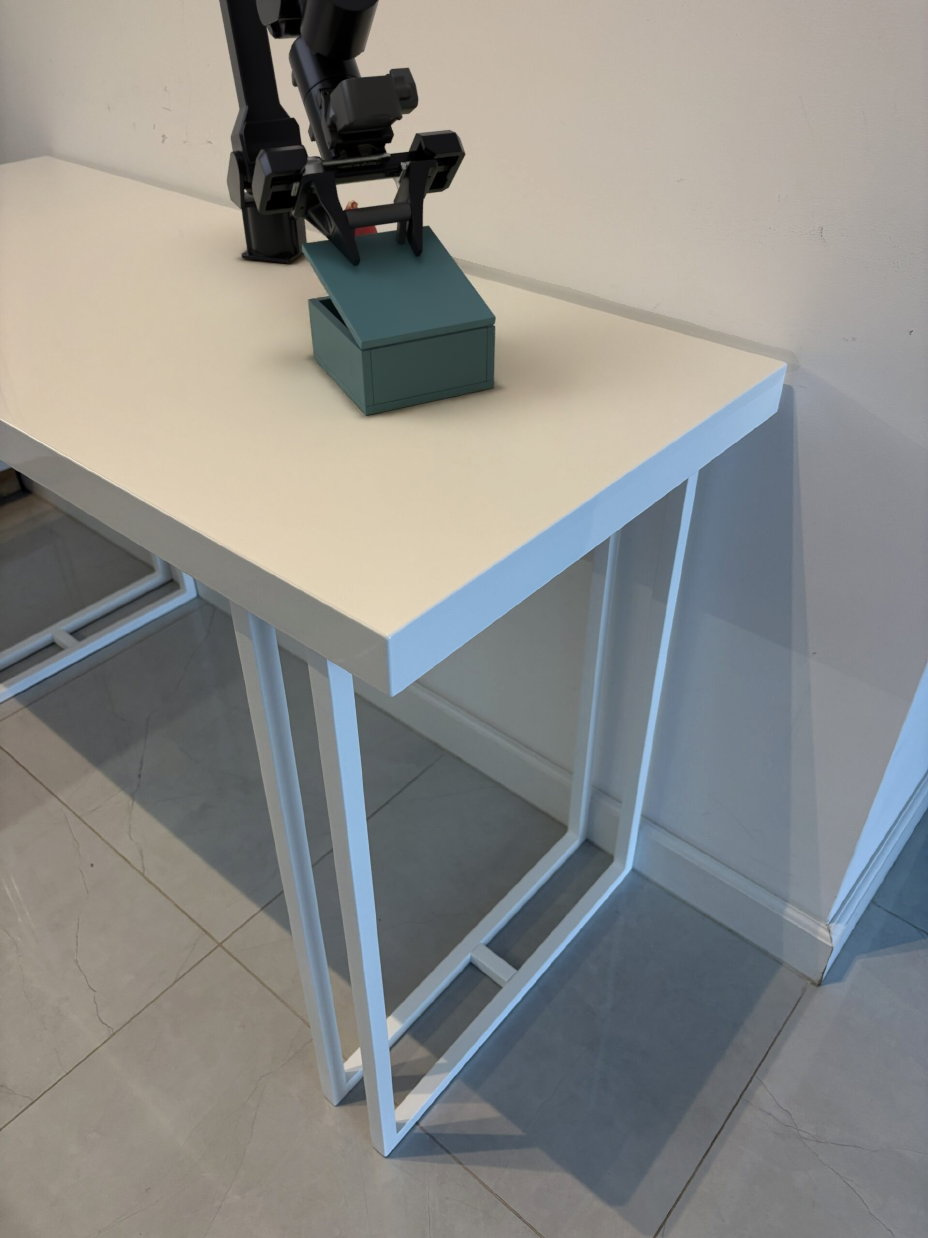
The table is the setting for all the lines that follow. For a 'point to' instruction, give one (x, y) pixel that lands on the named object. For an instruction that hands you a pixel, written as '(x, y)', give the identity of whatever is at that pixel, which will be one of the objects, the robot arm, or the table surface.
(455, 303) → the cool box lid
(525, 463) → the table surface
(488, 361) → the cool box
